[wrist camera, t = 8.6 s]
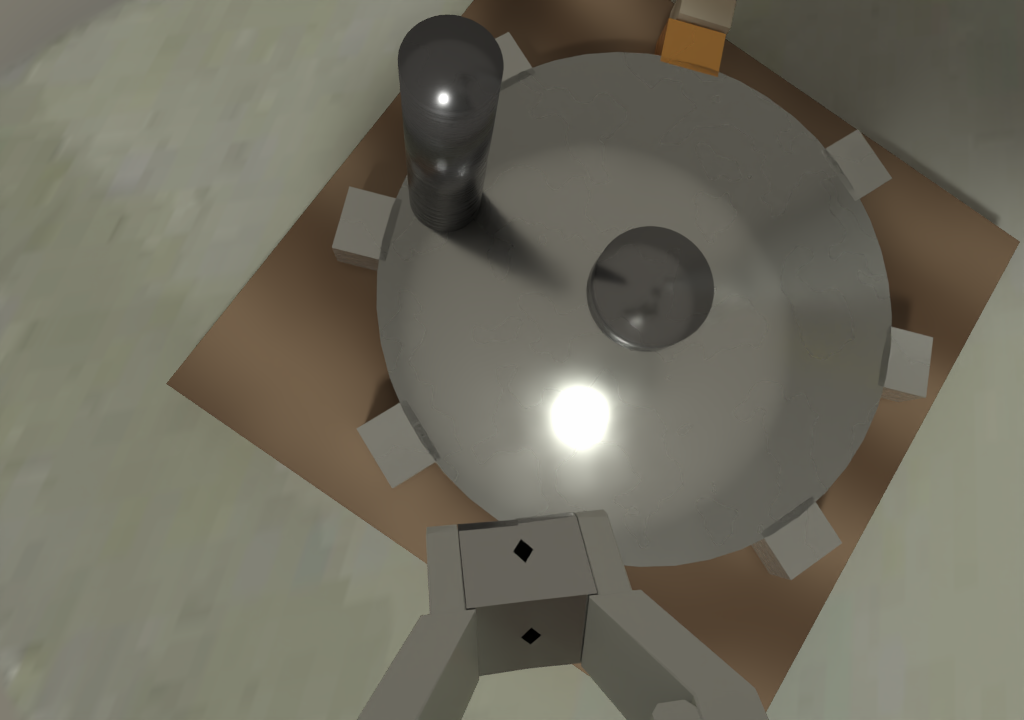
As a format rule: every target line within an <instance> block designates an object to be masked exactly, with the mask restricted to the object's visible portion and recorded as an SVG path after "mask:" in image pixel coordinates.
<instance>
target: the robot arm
mask: <svg viewBox="0 0 1024 720" xmlns="http://www.w3.org/2000/svg"><path fill="white" fill-rule="evenodd" d="M426 548H427V567H428V587H429V606H430V614H428V615H421V616H420V618H419V619H418V621H417V623H416V624H415V626H414V628H413V629H412V631H411V632H410V634H409V636H408V637H407V639H406V641H405V642H404V644H403V645H402V647H401V649H400V650H399V652H398V654H397V655H396V657H395V658H394V660H393V662H392V663H391V665H390V667H389V668H388V670H387V671H386V673H385V675H384V676H383V678H382V680H381V681H380V683H379V684H378V686H377V688H376V689H375V691H374V693H373V694H372V696H371V697H370V699H369V701H368V702H367V704H366V706H365V707H364V709H363V710H362V712H361V714H360V715H359V717H358V719H357V720H461V719H462V717H463V715H464V712H465V710H466V708H467V706H468V703H469V701H470V699H471V697H472V694H473V692H474V690H475V688H476V685H477V683H478V681H479V676H483V675H490V674H496V673H502V672H509V671H515V670H522V669H528V668H537V667H547V666H557V665H567V664H577V663H581V666H582V667H583V669H584V670H585V671H586V672H587V673H588V674H589V676H590V677H591V678H592V679H593V680H594V682H595V683H596V684H597V685H598V686H599V687H600V689H601V690H602V691H603V692H604V693H605V694H606V696H607V697H608V698H609V699H610V700H611V702H612V703H613V704H614V705H615V706H616V707H617V709H618V710H619V711H620V712H621V713H622V714H623V716H624V717H625V718H626V719H627V720H769V719H768V717H767V714H766V712H765V710H764V707H763V705H762V703H761V700H760V698H759V696H758V693H757V691H756V689H755V688H754V687H753V686H752V685H751V684H750V683H749V682H747V681H746V680H745V679H744V678H743V677H742V676H740V675H739V674H738V673H737V672H736V671H735V670H734V669H732V668H731V667H730V666H729V665H728V664H727V663H725V662H724V661H723V660H722V659H721V658H720V657H718V656H717V655H716V654H715V653H714V652H713V651H711V650H710V649H709V648H708V647H707V646H706V645H704V644H703V643H702V642H701V641H700V640H699V639H698V638H696V637H695V636H694V635H693V634H692V633H691V632H689V631H688V630H687V629H686V628H685V627H684V626H682V625H681V624H680V623H679V622H678V621H677V620H675V619H674V618H673V617H672V616H671V615H670V614H668V613H667V612H666V611H665V610H664V609H663V608H661V607H660V606H659V605H658V604H657V603H656V602H655V601H653V600H652V599H651V598H650V597H649V596H648V595H646V594H645V593H644V592H643V591H642V590H632V588H631V585H630V582H629V579H628V576H627V573H626V570H625V567H624V564H623V561H622V558H621V554H620V551H619V548H618V545H617V542H616V539H615V536H614V533H613V530H612V527H611V524H610V521H609V517H608V514H607V513H606V512H605V511H604V509H602V510H592V511H582V512H575V513H573V512H568V513H559V514H551V515H542V516H534V517H525V518H517V519H516V520H505V521H492V522H479V523H466V524H458V529H457V524H456V525H444V526H433V527H427V530H426Z"/></svg>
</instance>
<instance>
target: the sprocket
mask: <svg viewBox="0 0 1024 720" xmlns="http://www.w3.org/2000/svg"><path fill="white" fill-rule="evenodd" d="M725 37H726V34H724V33H721V32H717V31H714V30H710V29H707V28H703V27H700V26H696V25H693V24H689V23H686V22H682V21H679V20H675V19H672V18H669V19H668V21H667V23H666V25H665V27H664V29H663V31H662V33H661V35H660V37H659V39H658V41H657V43H656V47H655V52H654V54H646V53H627V52H610V53H596V54H584V55H579V56H574V57H569V58H564V59H559V60H554V61H551V62H548V63H545V64H542V65H539V66H536V67H533V68H532V67H531V65H530V63H529V62H528V60H527V59H526V57H525V56H524V54H523V53H522V51H521V50H520V48H519V47H518V45H517V44H516V42H515V40H514V39H513V37H512V36H511V34H510V33H509V32H507V33H505V34H503V35H501V36H499V37H498V38H496V39H495V38H494V37H493V36H492V34H491V33H490V32H489V31H488V30H487V29H486V28H484V27H483V26H482V25H480V24H479V23H477V22H475V21H473V20H471V19H468V18H465V17H462V16H457V15H439V16H434V17H431V18H428V19H426V20H424V21H422V22H420V23H418V24H417V25H416V26H414V27H413V28H412V29H411V30H410V31H409V32H408V33H407V35H406V36H405V38H404V39H403V41H402V44H401V46H400V49H399V54H398V69H399V81H400V93H401V105H402V117H403V129H404V141H405V153H406V165H407V176H406V178H405V180H404V182H403V184H402V186H401V188H400V191H399V193H398V195H397V197H396V198H392V197H388V196H385V195H381V194H377V193H373V192H369V191H365V190H361V189H358V188H354V187H350V186H349V190H348V193H347V197H346V200H345V203H344V207H343V210H342V214H341V217H340V221H339V224H338V228H337V231H336V235H335V238H334V242H333V245H332V249H333V252H334V254H335V256H336V258H337V261H339V262H343V263H347V264H351V265H355V266H359V267H363V268H367V269H371V270H375V271H377V316H378V325H379V333H380V341H381V346H382V350H383V354H384V358H385V362H386V365H387V369H388V373H389V377H390V380H391V382H392V385H393V387H394V390H395V392H396V394H397V397H398V399H399V402H400V403H398V404H397V405H395V406H393V407H392V408H390V409H388V410H387V411H385V412H383V413H382V414H380V415H378V416H377V417H375V418H373V419H372V420H370V421H368V422H367V423H365V424H363V425H362V426H360V427H358V428H357V431H358V432H359V434H360V436H361V437H362V439H363V441H364V442H365V444H366V446H367V447H368V449H369V451H370V452H371V454H372V456H373V457H374V459H375V461H376V462H377V464H378V466H379V467H380V469H381V471H382V472H383V474H384V476H385V477H386V479H387V481H388V482H389V484H390V486H391V487H392V488H395V487H397V486H398V485H400V484H402V483H403V482H405V481H406V480H408V479H410V478H411V477H413V476H414V475H416V474H418V473H419V472H421V471H423V470H424V469H426V468H427V467H429V466H431V465H432V464H434V463H436V464H437V465H438V466H439V468H440V469H441V470H442V472H443V473H444V474H445V475H446V476H447V477H448V478H449V479H450V480H451V481H452V482H453V483H454V484H455V485H456V486H457V487H458V488H459V489H460V490H461V491H462V492H463V493H464V494H465V495H466V496H467V497H468V498H469V499H471V500H472V501H473V502H474V503H476V504H477V505H478V506H480V507H481V508H482V509H484V510H485V511H486V512H488V513H489V514H490V515H492V516H493V517H494V518H496V519H497V520H498V521H505V520H516V519H517V518H525V517H534V516H542V515H551V514H559V513H568V512H573V513H575V512H582V511H592V510H602V509H604V511H605V512H606V513H607V514H608V517H609V521H610V524H611V527H612V530H613V533H614V536H615V539H616V542H617V545H618V548H619V551H620V554H621V558H622V561H623V564H624V565H626V566H635V567H651V566H676V565H682V564H688V563H694V562H699V561H705V560H710V559H713V558H716V557H719V556H722V555H726V554H729V553H732V552H735V551H738V550H741V549H743V548H745V547H748V546H750V545H751V546H752V547H753V549H754V550H755V552H756V553H757V555H758V556H759V558H760V560H761V561H762V563H763V564H764V566H765V567H766V569H767V571H768V572H769V574H771V575H775V576H778V577H781V578H785V579H788V580H792V579H794V578H795V577H796V576H798V575H799V574H800V573H802V572H803V571H805V570H806V569H807V568H809V567H810V566H811V565H813V564H814V563H816V562H817V561H818V560H820V559H821V558H822V557H824V556H825V555H826V554H828V553H829V552H831V551H832V550H833V549H835V548H836V547H837V546H839V545H840V544H842V542H841V540H840V539H839V537H838V535H837V534H836V532H835V531H834V529H833V528H832V526H831V525H830V523H829V522H828V520H827V519H826V517H825V516H824V514H823V513H822V511H821V509H820V508H819V506H818V505H817V503H816V501H817V500H818V499H819V498H820V497H821V496H822V495H824V494H825V493H826V492H827V490H828V489H829V488H830V487H831V485H832V484H833V483H834V482H835V481H836V479H837V478H838V477H839V476H840V475H841V473H842V472H843V471H844V470H845V469H846V467H847V466H848V464H849V463H850V461H851V459H852V458H853V456H854V455H855V453H856V451H857V450H858V448H859V446H860V445H861V443H862V442H863V440H864V438H865V436H866V433H867V431H868V429H869V427H870V424H871V422H872V420H873V418H874V415H875V413H876V411H877V408H878V405H879V401H880V398H884V399H888V400H892V401H896V402H902V401H908V400H914V399H920V398H926V394H927V385H928V377H929V368H930V360H931V352H932V343H933V337H929V336H925V335H922V334H918V333H914V332H910V331H906V330H902V329H898V328H894V327H891V325H892V311H891V302H890V292H889V282H888V278H887V273H886V269H885V265H884V260H883V256H882V251H881V248H880V245H879V243H878V240H877V237H876V234H875V232H874V229H873V226H872V223H871V220H870V218H869V216H868V214H867V212H866V210H865V208H864V206H863V204H862V202H861V200H860V199H861V198H862V197H864V196H866V195H867V194H869V193H870V192H872V191H873V190H875V189H876V188H878V187H880V186H881V185H883V184H884V183H886V182H887V181H889V180H890V179H892V177H891V176H890V174H889V173H888V171H887V170H886V169H885V167H884V166H883V164H882V163H881V161H880V160H879V158H878V157H877V156H876V154H875V153H874V151H873V150H872V148H871V147H870V145H869V144H868V143H867V141H866V140H865V138H864V137H863V135H862V134H861V132H860V131H859V130H858V129H857V130H856V131H854V132H852V133H851V134H849V135H847V136H846V137H844V138H842V139H841V140H839V141H837V142H836V143H834V144H832V145H831V146H829V147H827V148H826V149H825V148H824V146H823V145H822V144H821V143H820V142H819V141H818V139H817V138H816V137H815V136H814V135H813V134H811V133H810V132H809V131H808V130H807V129H806V128H805V127H804V126H803V125H802V124H801V123H800V122H799V121H798V120H797V119H796V118H795V117H793V116H792V115H791V114H789V113H788V112H787V111H785V110H784V109H783V108H781V107H780V106H779V105H777V104H776V103H775V102H773V101H772V100H771V99H769V98H768V97H766V96H765V95H763V94H761V93H760V92H758V91H756V90H754V89H753V88H751V87H749V86H748V85H746V84H744V83H742V82H741V81H739V80H736V79H734V78H732V77H729V76H727V75H725V74H722V73H720V72H719V68H720V63H721V58H722V52H723V47H724V42H725Z"/></svg>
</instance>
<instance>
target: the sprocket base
mask: <svg viewBox="0 0 1024 720" xmlns="http://www.w3.org/2000/svg"><path fill="white" fill-rule="evenodd" d="M736 1H737V0H676V2H675V4H674V3H673V2H671V1H670V0H474V1H473V2H472V3H471V4H470V6H469V7H468V8H467V9H466V11H465V12H464V13H463V14H462V17H465V18H468V19H471V20H473V21H475V22H477V23H479V24H480V25H482V26H483V27H484V28H486V29H487V30H488V31H489V32H490V33H491V34H492V36H493V37H494V38H495V39H496V38H498V37H499V36H501V35H503V34H505V33H507V32H509V33H510V34H511V36H512V37H513V39H514V40H515V42H516V44H517V45H518V47H519V48H520V50H521V51H522V53H523V54H524V56H525V57H526V59H527V60H528V62H529V63H530V65H531V67H532V68H533V67H536V66H539V65H542V64H545V63H548V62H551V61H554V60H559V59H564V58H569V57H574V56H579V55H584V54H596V53H610V52H627V53H646V54H654V52H655V47H656V43H657V41H658V39H659V37H660V35H661V33H662V31H663V29H664V27H665V25H666V23H667V21H668V19H669V18H672V19H675V20H679V21H682V22H686V23H689V24H693V25H696V26H700V27H703V28H707V29H710V30H714V31H717V32H721V33H724V34H726V35H727V33H728V32H729V30H730V28H731V24H732V19H733V15H734V10H735V5H736ZM719 72H720V73H722V74H725V75H727V76H729V77H732V78H734V79H736V80H739V81H741V82H742V83H744V84H746V85H748V86H749V87H751V88H753V89H754V90H756V91H758V92H760V93H761V94H763V95H765V96H766V97H768V98H769V99H771V100H772V101H773V102H775V103H776V104H777V105H779V106H780V107H781V108H783V109H784V110H785V111H787V112H788V113H789V114H791V115H792V116H793V117H795V118H796V119H797V120H798V121H799V122H800V123H801V124H802V125H803V126H804V127H805V128H806V129H807V130H808V131H809V132H810V133H811V134H813V135H814V136H815V137H816V138H817V139H818V141H819V142H820V143H821V144H822V145H823V146H824V148H825V149H826V148H827V147H829V146H831V145H832V144H834V143H836V142H837V141H839V140H841V139H842V138H844V137H846V136H847V135H849V134H851V133H852V132H854V131H856V130H857V129H855V128H854V127H853V126H851V125H850V124H848V123H847V122H845V121H844V120H842V119H841V118H840V117H838V116H837V115H835V114H834V113H832V112H831V111H829V110H828V109H826V108H825V107H824V106H822V105H821V104H819V103H818V102H816V101H815V100H813V99H812V98H810V97H809V96H808V95H806V94H805V93H803V92H802V91H800V90H799V89H797V88H796V87H795V86H793V85H792V84H790V83H789V82H787V81H786V80H784V79H783V78H781V77H780V76H779V75H777V74H776V73H774V72H773V71H771V70H770V69H768V68H767V67H766V66H764V65H763V64H761V63H760V62H758V61H757V60H755V59H754V58H752V57H751V56H750V55H748V54H747V53H745V52H744V51H742V50H741V49H739V48H738V47H736V46H735V45H734V44H732V43H731V42H729V41H728V40H726V39H725V42H724V47H723V52H722V58H721V63H720V68H719ZM861 134H862V135H863V137H864V138H865V140H866V141H867V143H868V144H869V145H870V147H871V148H872V150H873V151H874V153H875V154H876V156H877V157H878V158H879V160H880V161H881V163H882V164H883V166H884V167H885V169H886V170H887V171H888V173H889V174H890V176H891V177H892V179H890V180H889V181H887V182H886V183H884V184H883V185H881V186H880V187H878V188H876V189H875V190H873V191H872V192H870V193H869V194H867V195H866V196H864V197H862V198H861V199H860V200H861V202H862V204H863V206H864V208H865V210H866V212H867V214H868V216H869V218H870V220H871V223H872V226H873V229H874V232H875V234H876V237H877V240H878V243H879V245H880V248H881V251H882V256H883V260H884V265H885V269H886V273H887V278H888V282H889V292H890V302H891V311H892V325H891V327H894V328H898V329H902V330H906V331H910V332H914V333H918V334H922V335H925V336H929V337H933V343H932V352H931V360H930V368H929V377H928V385H927V394H926V398H920V399H914V400H908V401H902V402H896V401H892V400H888V399H884V398H880V401H879V405H878V408H877V411H876V413H875V415H874V418H873V420H872V422H871V424H870V427H869V429H868V431H867V433H866V436H865V438H864V440H863V442H862V443H861V445H860V446H859V448H858V450H857V451H856V453H855V455H854V456H853V458H852V459H851V461H850V463H849V464H848V466H847V467H846V469H845V470H844V471H843V472H842V473H841V475H840V476H839V477H838V478H837V479H836V481H835V482H834V483H833V484H832V485H831V487H830V488H829V489H828V490H827V492H826V493H825V494H824V495H822V496H821V497H820V498H819V499H818V500H817V501H816V503H817V505H818V506H819V508H820V509H821V511H822V513H823V514H824V516H825V517H826V519H827V520H828V522H829V523H830V525H831V526H832V528H833V529H834V531H835V532H836V534H837V535H838V537H839V539H840V540H841V542H842V544H840V545H839V546H837V547H836V548H835V549H833V550H832V551H831V552H829V553H828V554H826V555H825V556H824V557H822V558H821V559H820V560H818V561H817V562H816V563H814V564H813V565H811V566H810V567H809V568H807V569H806V570H805V571H803V572H802V573H800V574H799V575H798V576H796V577H795V578H794V579H792V580H788V579H785V578H781V577H778V576H775V575H771V574H769V572H768V571H767V569H766V567H765V566H764V564H763V563H762V561H761V560H760V558H759V556H758V555H757V553H756V552H755V550H754V549H753V547H752V546H751V545H750V546H748V547H745V548H743V549H741V550H738V551H735V552H732V553H729V554H726V555H722V556H719V557H716V558H713V559H710V560H705V561H699V562H694V563H688V564H682V565H676V566H651V567H635V566H626V565H624V567H625V570H626V573H627V576H628V579H629V582H630V585H631V588H632V590H642V591H643V592H644V593H645V594H646V595H648V596H649V597H650V598H651V599H652V600H653V601H655V602H656V603H657V604H658V605H659V606H660V607H661V608H663V609H664V610H665V611H666V612H667V613H668V614H670V615H671V616H672V617H673V618H674V619H675V620H677V621H678V622H679V623H680V624H681V625H682V626H684V627H685V628H686V629H687V630H688V631H689V632H691V633H692V634H693V635H694V636H695V637H696V638H698V639H699V640H700V641H701V642H702V643H703V644H704V645H706V646H707V647H708V648H709V649H710V650H711V651H713V652H714V653H715V654H716V655H717V656H718V657H720V658H721V659H722V660H723V661H724V662H725V663H727V664H728V665H729V666H730V667H731V668H732V669H734V670H735V671H736V672H737V673H738V674H739V675H740V676H742V677H743V678H744V679H745V680H746V681H747V682H749V683H750V684H751V685H752V686H753V687H754V688H755V689H756V691H757V693H758V696H759V698H760V700H761V703H762V705H763V707H764V710H765V712H766V711H767V709H768V707H769V706H770V704H771V702H772V700H773V698H774V696H775V694H776V693H777V691H778V689H779V687H780V685H781V683H782V682H783V680H784V678H785V676H786V674H787V672H788V670H789V669H790V667H791V665H792V663H793V661H794V659H795V657H796V656H797V654H798V652H799V650H800V648H801V646H802V644H803V643H804V641H805V639H806V637H807V635H808V633H809V632H810V630H811V628H812V626H813V624H814V622H815V620H816V619H817V617H818V615H819V613H820V611H821V609H822V607H823V606H824V604H825V602H826V600H827V598H828V596H829V594H830V593H831V591H832V589H833V587H834V585H835V583H836V581H837V580H838V578H839V576H840V574H841V572H842V570H843V569H844V567H845V565H846V563H847V561H848V559H849V557H850V556H851V554H852V552H853V550H854V548H855V546H856V544H857V543H858V541H859V539H860V537H861V535H862V533H863V531H864V530H865V528H866V526H867V524H868V522H869V520H870V519H871V517H872V515H873V513H874V511H875V509H876V507H877V506H878V504H879V502H880V500H881V498H882V496H883V494H884V493H885V491H886V489H887V487H888V485H889V483H890V481H891V480H892V478H893V476H894V474H895V472H896V470H897V469H898V467H899V465H900V463H901V461H902V459H903V457H904V456H905V454H906V452H907V450H908V448H909V446H910V444H911V443H912V441H913V439H914V437H915V435H916V433H917V431H918V430H919V428H920V426H921V424H922V422H923V420H924V418H925V417H926V415H927V413H928V411H929V409H930V407H931V406H932V404H933V402H934V400H935V398H936V396H937V394H938V393H939V391H940V389H941V387H942V385H943V383H944V381H945V380H946V378H947V376H948V374H949V372H950V370H951V368H952V367H953V365H954V363H955V361H956V359H957V357H958V356H959V354H960V352H961V350H962V348H963V346H964V344H965V343H966V341H967V339H968V337H969V335H970V333H971V331H972V330H973V328H974V326H975V324H976V322H977V320H978V318H979V317H980V315H981V313H982V311H983V309H984V307H985V306H986V304H987V302H988V300H989V298H990V296H991V294H992V293H993V291H994V289H995V287H996V285H997V283H998V281H999V280H1000V278H1001V276H1002V274H1003V272H1004V270H1005V268H1006V267H1007V265H1008V263H1009V261H1010V259H1011V257H1012V255H1013V254H1014V252H1015V250H1016V248H1017V246H1018V244H1019V243H1020V242H1019V241H1018V240H1017V239H1015V238H1014V237H1012V236H1011V235H1009V234H1008V233H1006V232H1005V231H1003V230H1002V229H1001V228H999V227H998V226H996V225H995V224H993V223H992V222H990V221H989V220H988V219H986V218H985V217H983V216H982V215H980V214H979V213H977V212H976V211H974V210H973V209H972V208H970V207H969V206H967V205H966V204H964V203H963V202H961V201H960V200H958V199H957V198H956V197H954V196H953V195H951V194H950V193H948V192H947V191H945V190H944V189H943V188H941V187H940V186H938V185H937V184H935V183H934V182H932V181H931V180H929V179H928V178H927V177H925V176H924V175H922V174H921V173H919V172H918V171H916V170H915V169H914V168H912V167H911V166H909V165H908V164H906V163H905V162H903V161H902V160H900V159H899V158H898V157H896V156H895V155H893V154H892V153H890V152H889V151H887V150H886V149H884V148H883V147H882V146H880V145H879V144H877V143H876V142H874V141H873V140H871V139H870V138H869V137H867V136H866V135H864V134H863V133H861ZM406 176H407V165H406V153H405V141H404V129H403V117H402V105H401V93H399V94H398V96H397V97H396V98H395V99H394V100H393V102H392V103H391V104H390V105H389V107H388V108H387V109H386V110H385V112H384V113H383V114H382V115H381V117H380V118H379V119H378V120H377V122H376V123H375V124H374V125H373V127H372V128H371V129H370V130H369V132H368V133H367V134H366V135H365V137H364V138H363V139H362V140H361V142H360V143H359V144H358V145H357V147H356V148H355V149H354V150H353V152H352V153H351V154H350V155H349V157H348V158H347V159H346V160H345V162H344V163H343V164H342V165H341V167H340V168H339V169H338V170H337V172H336V173H335V174H334V175H333V177H332V178H331V179H330V180H329V182H328V183H327V184H326V185H325V187H324V188H323V189H322V190H321V191H320V193H319V194H318V195H317V196H316V198H315V199H314V200H313V201H312V203H311V204H310V205H309V206H308V208H307V209H306V210H305V211H304V213H303V214H302V215H301V216H300V218H299V219H298V220H297V221H296V223H295V224H294V225H293V226H292V228H291V229H290V230H289V231H288V233H287V234H286V235H285V236H284V238H283V239H282V240H281V241H280V243H279V244H278V245H277V246H276V248H275V249H274V250H273V251H272V253H271V254H270V255H269V256H268V258H267V259H266V260H265V261H264V263H263V264H262V265H261V266H260V268H259V269H258V270H257V271H256V273H255V274H254V275H253V276H252V278H251V279H250V280H249V281H248V282H247V284H246V285H245V286H244V287H243V289H242V290H241V291H240V292H239V294H238V295H237V296H236V297H235V299H234V300H233V301H232V302H231V304H230V305H229V306H228V307H227V309H226V310H225V311H224V312H223V314H222V315H221V316H220V317H219V319H218V320H217V321H216V322H215V324H214V325H213V326H212V327H211V329H210V330H209V331H208V332H207V334H206V335H205V336H204V337H203V339H202V340H201V341H200V342H199V344H198V345H197V346H196V347H195V349H194V350H193V351H192V352H191V354H190V355H189V356H188V357H187V359H186V360H185V361H184V362H183V364H182V365H181V366H180V367H179V369H178V370H177V371H176V372H175V373H174V375H173V376H172V377H171V378H170V380H169V381H168V382H167V383H166V384H167V385H169V386H170V387H172V388H173V389H175V390H176V391H178V392H179V393H180V394H182V395H183V396H185V397H186V398H188V399H189V400H191V401H192V402H194V403H195V404H196V405H198V406H199V407H201V408H202V409H204V410H205V411H207V412H208V413H209V414H211V415H212V416H214V417H215V418H217V419H218V420H220V421H221V422H222V423H224V424H225V425H227V426H228V427H230V428H231V429H233V430H234V431H235V432H237V433H238V434H240V435H241V436H243V437H244V438H246V439H247V440H248V441H250V442H251V443H253V444H254V445H256V446H257V447H259V448H260V449H261V450H263V451H264V452H266V453H267V454H269V455H270V456H272V457H273V458H275V459H276V460H277V461H279V462H280V463H282V464H283V465H285V466H286V467H288V468H289V469H290V470H292V471H293V472H295V473H296V474H298V475H299V476H301V477H302V478H303V479H305V480H306V481H308V482H309V483H311V484H312V485H314V486H315V487H316V488H318V489H319V490H321V491H322V492H324V493H325V494H327V495H328V496H329V497H331V498H332V499H334V500H335V501H337V502H338V503H340V504H341V505H343V506H344V507H345V508H347V509H348V510H350V511H351V512H353V513H354V514H356V515H357V516H358V517H360V518H361V519H363V520H364V521H366V522H367V523H369V524H370V525H371V526H373V527H374V528H376V529H377V530H379V531H380V532H382V533H383V534H384V535H386V536H387V537H389V538H390V539H392V540H393V541H395V542H396V543H397V544H399V545H400V546H402V547H403V548H405V549H406V550H408V551H409V552H411V553H412V554H413V555H415V556H416V557H418V558H419V559H421V560H422V561H424V562H425V563H426V564H427V548H426V530H427V527H433V526H444V525H456V524H457V529H458V524H466V523H479V522H492V521H498V520H497V519H496V518H494V517H493V516H492V515H490V514H489V513H488V512H486V511H485V510H484V509H482V508H481V507H480V506H478V505H477V504H476V503H474V502H473V501H472V500H471V499H469V498H468V497H467V496H466V495H465V494H464V493H463V492H462V491H461V490H460V489H459V488H458V487H457V486H456V485H455V484H454V483H453V482H452V481H451V480H450V479H449V478H448V477H447V476H446V475H445V474H444V473H443V472H442V470H441V469H440V468H439V466H438V465H437V464H436V463H434V464H432V465H431V466H429V467H427V468H426V469H424V470H423V471H421V472H419V473H418V474H416V475H414V476H413V477H411V478H410V479H408V480H406V481H405V482H403V483H402V484H400V485H398V486H397V487H395V488H392V487H391V486H390V484H389V482H388V481H387V479H386V477H385V476H384V474H383V472H382V471H381V469H380V467H379V466H378V464H377V462H376V461H375V459H374V457H373V456H372V454H371V452H370V451H369V449H368V447H367V446H366V444H365V442H364V441H363V439H362V437H361V436H360V434H359V432H358V431H357V428H358V427H360V426H362V425H363V424H365V423H367V422H368V421H370V420H372V419H373V418H375V417H377V416H378V415H380V414H382V413H383V412H385V411H387V410H388V409H390V408H392V407H393V406H395V405H397V404H398V403H400V402H399V399H398V397H397V394H396V392H395V390H394V387H393V385H392V382H391V380H390V377H389V373H388V369H387V365H386V362H385V358H384V354H383V350H382V346H381V341H380V333H379V325H378V316H377V271H375V270H371V269H367V268H363V267H359V266H355V265H351V264H347V263H343V262H339V261H337V258H336V256H335V254H334V252H333V249H332V245H333V242H334V238H335V235H336V231H337V228H338V224H339V221H340V217H341V214H342V210H343V207H344V203H345V200H346V197H347V193H348V190H349V186H350V187H354V188H358V189H361V190H365V191H369V192H373V193H377V194H381V195H385V196H388V197H392V198H396V197H397V195H398V193H399V191H400V188H401V186H402V184H403V182H404V180H405V178H406ZM573 665H574V666H575V667H577V668H578V669H580V670H581V671H583V672H584V673H586V674H587V675H588V676H589V674H588V673H587V672H586V671H585V670H584V669H583V667H582V666H581V663H577V664H573Z"/></svg>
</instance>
